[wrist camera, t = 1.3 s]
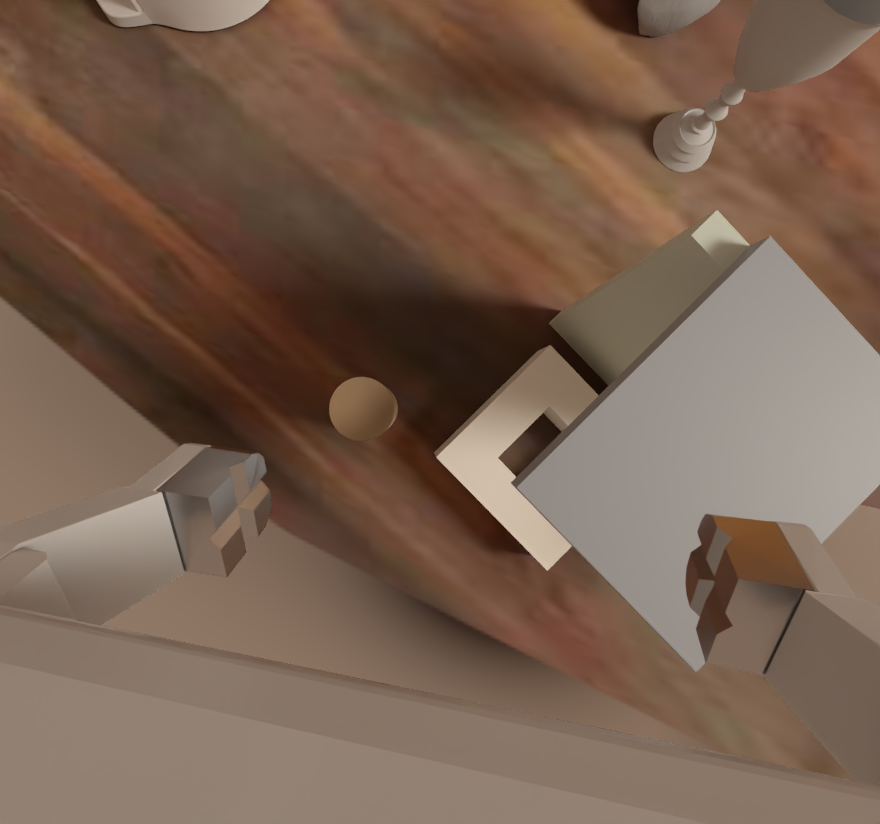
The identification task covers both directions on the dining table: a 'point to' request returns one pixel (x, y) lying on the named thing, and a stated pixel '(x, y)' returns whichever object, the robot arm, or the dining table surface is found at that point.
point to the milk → (858, 552)
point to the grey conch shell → (670, 14)
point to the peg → (362, 409)
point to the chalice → (769, 65)
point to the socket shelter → (682, 419)
